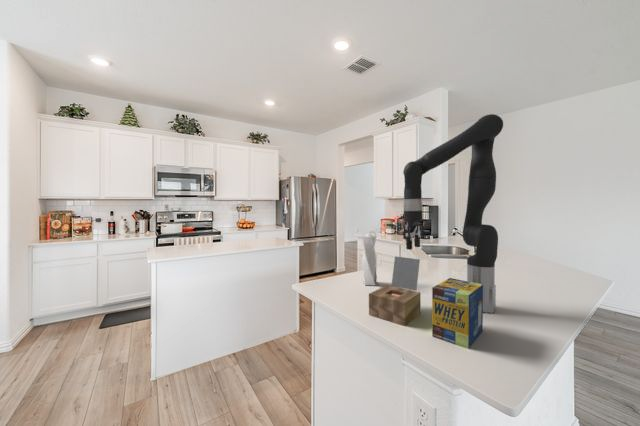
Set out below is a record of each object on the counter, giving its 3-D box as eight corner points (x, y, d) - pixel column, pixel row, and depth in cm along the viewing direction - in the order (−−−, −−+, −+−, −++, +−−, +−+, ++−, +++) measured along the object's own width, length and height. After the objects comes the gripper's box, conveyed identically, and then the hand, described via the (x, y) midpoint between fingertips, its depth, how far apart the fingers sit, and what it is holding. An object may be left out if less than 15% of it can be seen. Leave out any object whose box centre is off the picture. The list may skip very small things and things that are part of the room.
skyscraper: (379, 286, 132) (379, 231, 131) (363, 286, 132) (363, 231, 131) (376, 282, 140) (376, 230, 140) (361, 282, 140) (360, 230, 140)
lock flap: (391, 285, 107) (392, 285, 107) (415, 290, 100) (416, 290, 101) (395, 256, 109) (396, 256, 110) (418, 259, 102) (419, 259, 103)
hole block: (420, 313, 99) (420, 292, 98) (404, 326, 88) (404, 302, 88) (386, 304, 108) (386, 285, 108) (368, 314, 98) (368, 293, 97)
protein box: (431, 336, 81) (431, 287, 81) (449, 321, 92) (449, 277, 91) (468, 349, 73) (468, 295, 73) (483, 331, 84) (483, 283, 84)
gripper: (414, 210, 102) (415, 251, 103) (428, 209, 113) (428, 246, 113) (397, 210, 107) (397, 249, 108) (411, 209, 118) (411, 245, 118)
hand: (413, 248), depth 110 cm, fingers open, 8 cm apart
